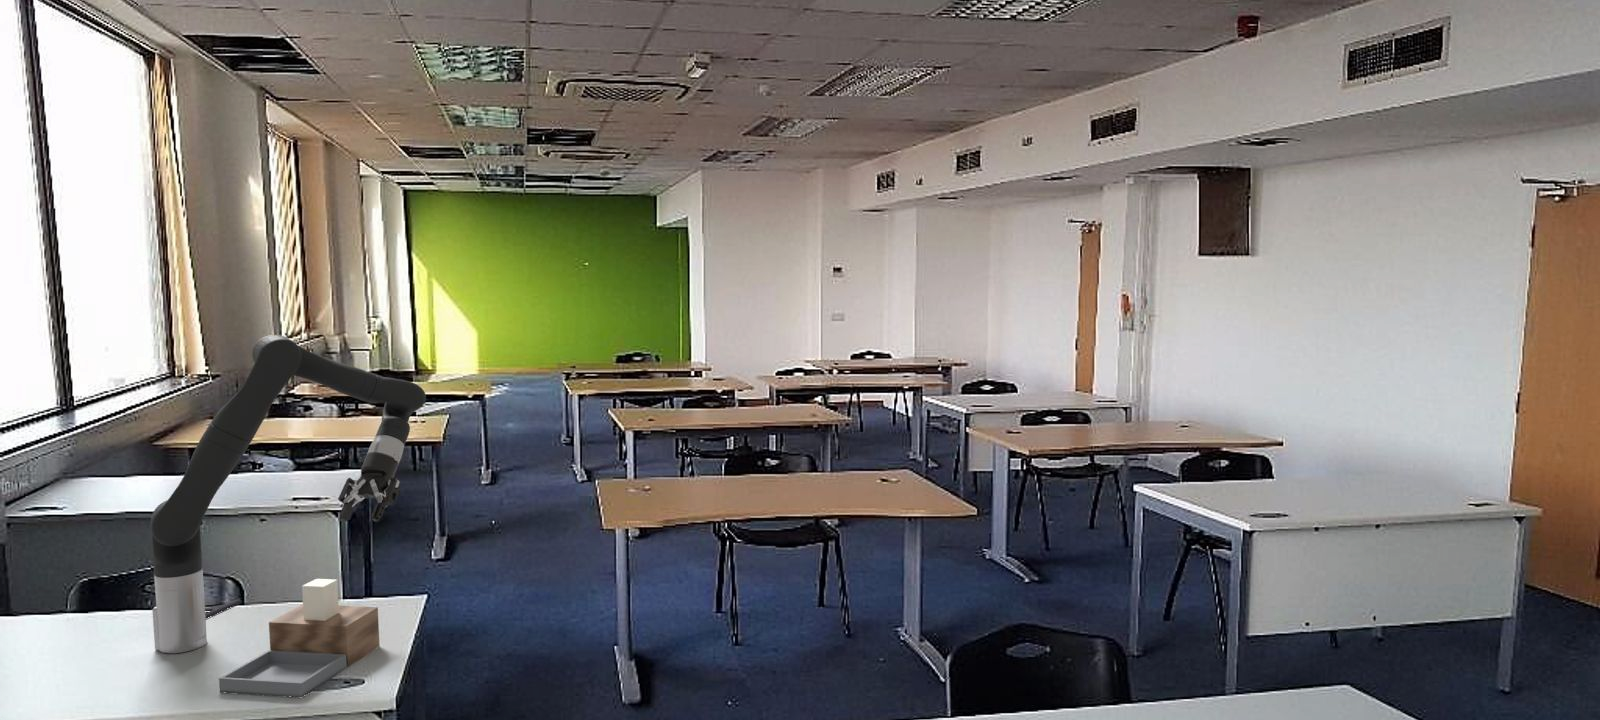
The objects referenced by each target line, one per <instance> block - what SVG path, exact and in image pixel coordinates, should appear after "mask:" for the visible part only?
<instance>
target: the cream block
mask: <svg viewBox="0 0 1600 720" xmlns="http://www.w3.org/2000/svg"><path fill="white" fill-rule="evenodd" d="M338 586H339V585H338V579H335V578H334V579H330V578H315V579H313V580H310V581H309V582H306V583H304V584H302V585H301V590H302V605H303V613H304V620H321V621H326V620H327V619H329V618H331V617H333V616H334V615H336V614H338V613H339V589H338V588H339V587H338Z"/></svg>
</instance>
